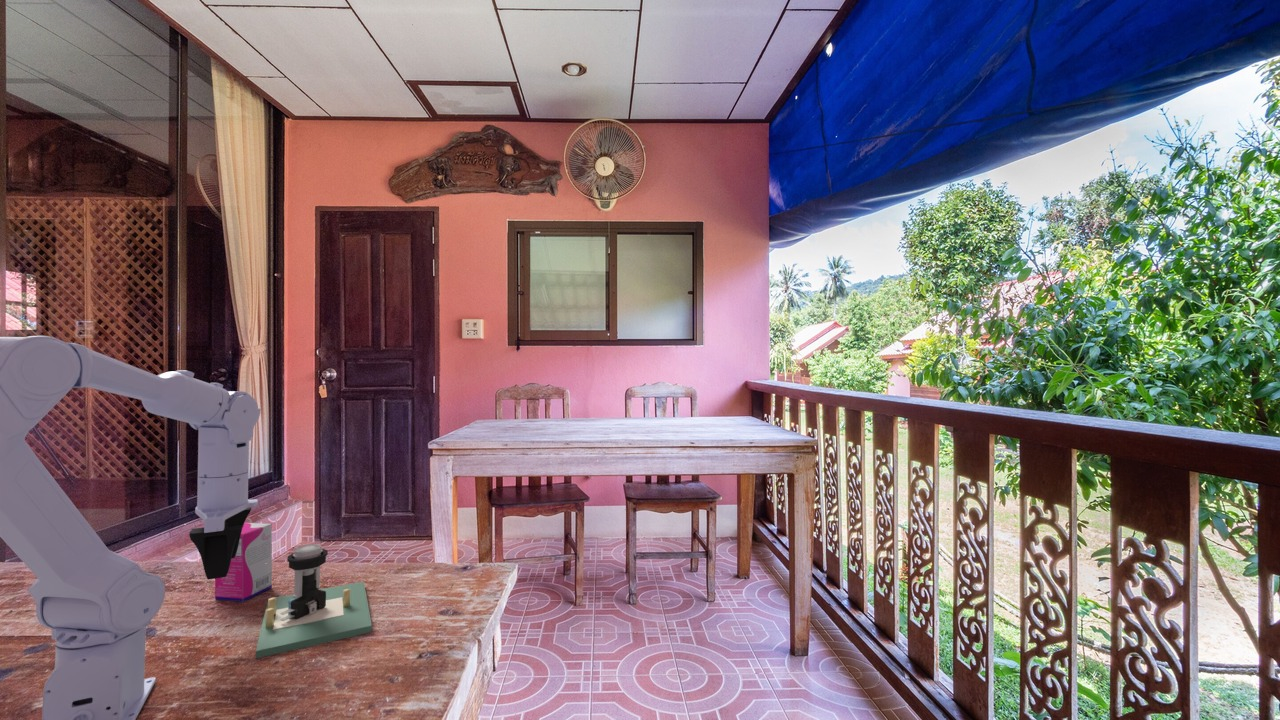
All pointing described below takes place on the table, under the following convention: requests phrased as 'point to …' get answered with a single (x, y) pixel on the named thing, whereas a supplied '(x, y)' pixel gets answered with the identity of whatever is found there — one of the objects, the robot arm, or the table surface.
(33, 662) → the table surface
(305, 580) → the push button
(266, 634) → the board
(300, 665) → the table surface
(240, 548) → the supplement box
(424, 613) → the table surface
